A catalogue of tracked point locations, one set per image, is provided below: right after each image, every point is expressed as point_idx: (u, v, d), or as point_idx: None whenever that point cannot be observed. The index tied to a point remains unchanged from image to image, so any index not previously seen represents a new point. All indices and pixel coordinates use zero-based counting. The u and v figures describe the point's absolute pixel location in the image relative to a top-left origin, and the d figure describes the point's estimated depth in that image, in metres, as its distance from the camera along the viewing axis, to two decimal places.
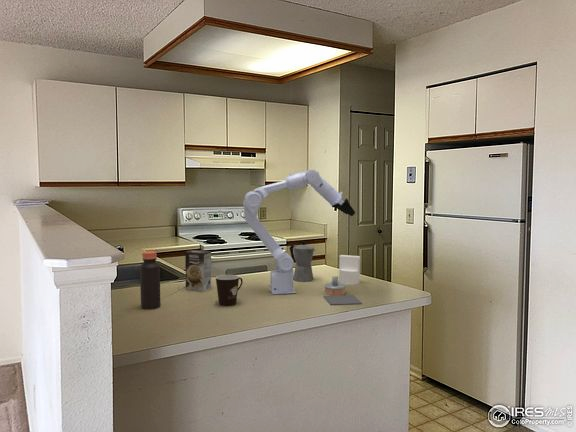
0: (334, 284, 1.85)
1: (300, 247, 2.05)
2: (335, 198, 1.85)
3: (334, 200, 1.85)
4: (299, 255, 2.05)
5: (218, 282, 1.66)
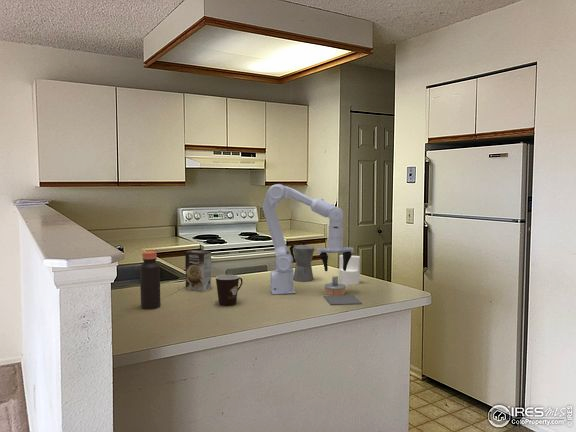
0: (334, 284, 1.85)
1: (300, 247, 2.05)
2: (328, 246, 1.84)
3: (328, 247, 1.85)
4: (299, 255, 2.05)
5: (218, 282, 1.66)
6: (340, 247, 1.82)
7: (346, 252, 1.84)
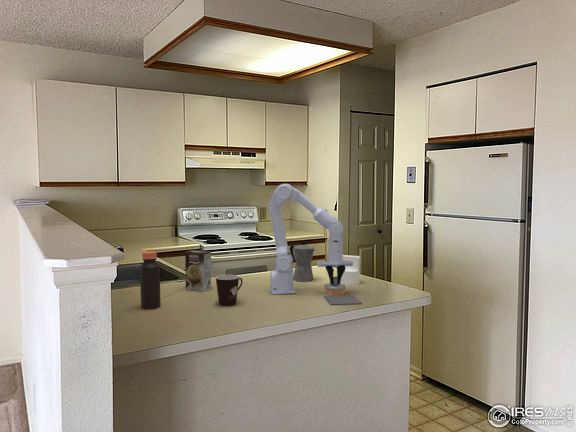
0: (334, 284, 1.85)
1: (300, 247, 2.05)
2: (328, 260, 1.84)
3: (328, 260, 1.85)
4: (299, 255, 2.05)
5: (218, 282, 1.66)
6: (340, 261, 1.83)
7: None
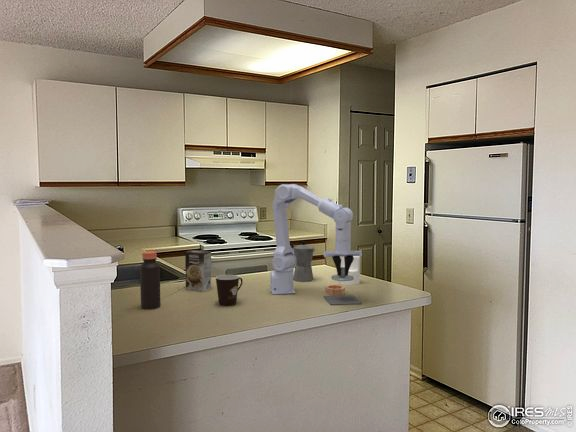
0: (341, 275, 1.73)
1: (300, 247, 2.05)
2: (335, 249, 1.73)
3: (335, 250, 1.74)
4: (299, 255, 2.05)
5: (218, 282, 1.66)
6: (348, 250, 1.71)
7: None
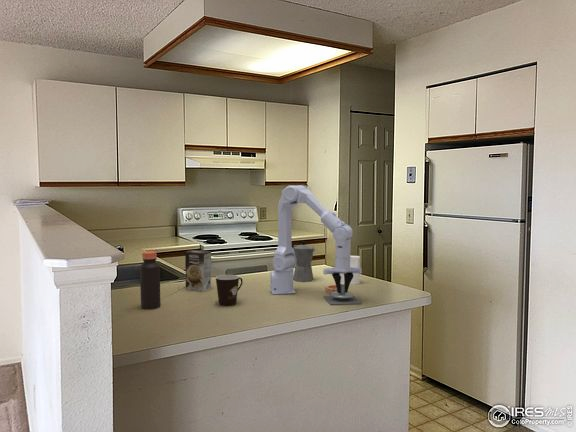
0: (341, 292, 1.74)
1: (300, 247, 2.05)
2: (335, 267, 1.74)
3: (335, 267, 1.75)
4: (299, 255, 2.05)
5: (218, 282, 1.66)
6: (347, 268, 1.72)
7: (354, 272, 1.74)
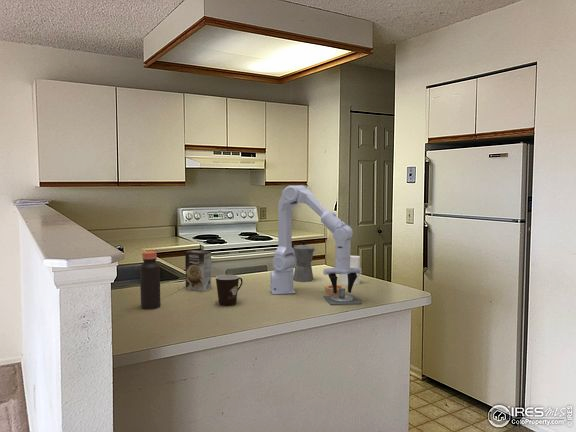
0: (341, 296, 1.74)
1: (300, 247, 2.05)
2: (335, 267, 1.74)
3: (335, 267, 1.75)
4: (299, 255, 2.05)
5: (218, 282, 1.66)
6: (347, 268, 1.72)
7: (354, 273, 1.74)
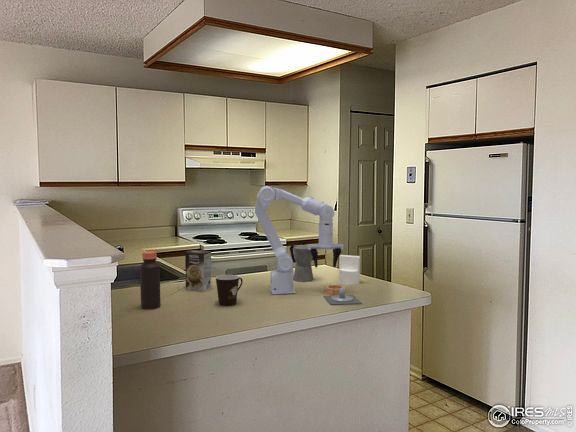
0: (341, 296, 1.74)
1: (300, 247, 2.05)
2: None
3: None
4: (299, 255, 2.05)
5: (218, 282, 1.66)
6: (330, 244, 1.85)
7: (336, 249, 1.87)
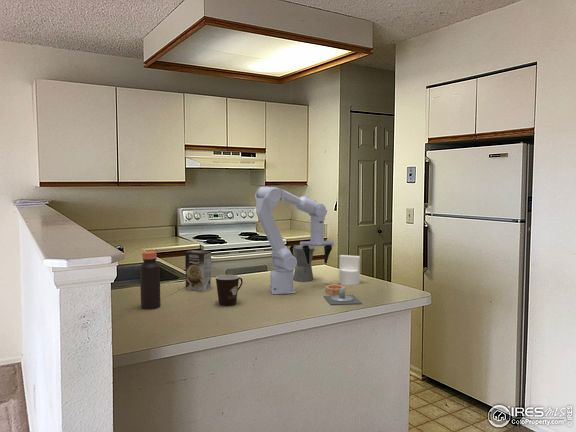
0: (341, 296, 1.74)
1: (300, 247, 2.05)
2: (310, 240, 1.95)
3: (310, 240, 1.96)
4: (299, 255, 2.05)
5: (218, 282, 1.66)
6: (321, 241, 1.93)
7: (327, 245, 1.95)
